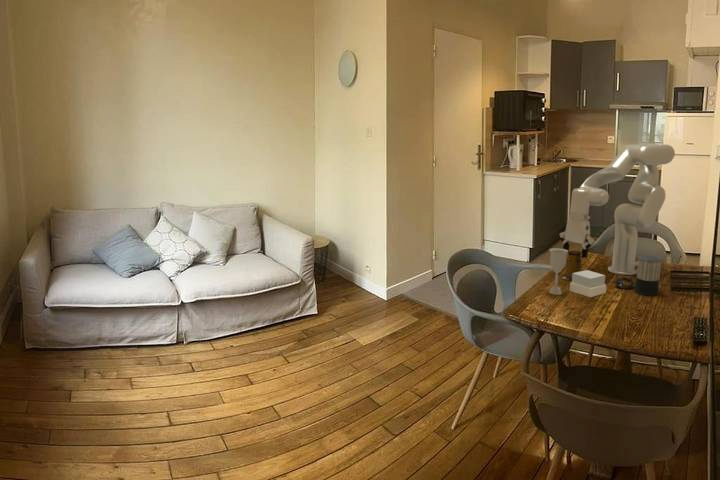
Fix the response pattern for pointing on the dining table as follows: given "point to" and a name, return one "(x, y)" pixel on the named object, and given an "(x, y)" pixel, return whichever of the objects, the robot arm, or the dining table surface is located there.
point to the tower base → (587, 290)
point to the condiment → (573, 264)
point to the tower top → (588, 279)
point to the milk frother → (645, 276)
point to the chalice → (557, 266)
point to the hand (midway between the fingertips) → (574, 255)
